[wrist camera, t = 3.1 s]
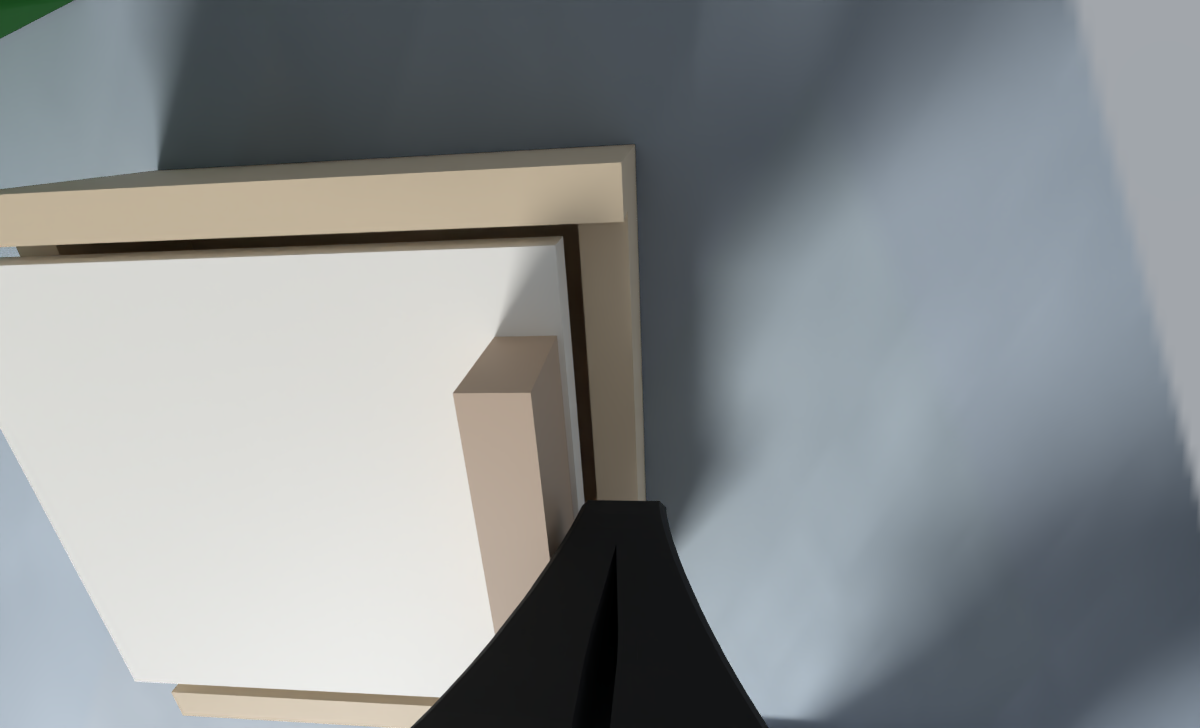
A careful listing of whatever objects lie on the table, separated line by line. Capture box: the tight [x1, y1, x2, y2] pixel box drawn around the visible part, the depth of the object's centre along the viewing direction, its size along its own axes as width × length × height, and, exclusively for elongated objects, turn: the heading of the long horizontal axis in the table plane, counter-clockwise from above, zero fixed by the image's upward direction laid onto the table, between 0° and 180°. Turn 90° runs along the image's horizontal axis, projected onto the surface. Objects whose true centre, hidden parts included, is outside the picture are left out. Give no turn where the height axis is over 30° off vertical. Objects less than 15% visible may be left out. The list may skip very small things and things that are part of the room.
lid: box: [0, 236, 585, 697], centre depth 10 cm, size 10×11×3 cm
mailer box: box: [0, 144, 646, 728], centre depth 13 cm, size 12×11×5 cm
